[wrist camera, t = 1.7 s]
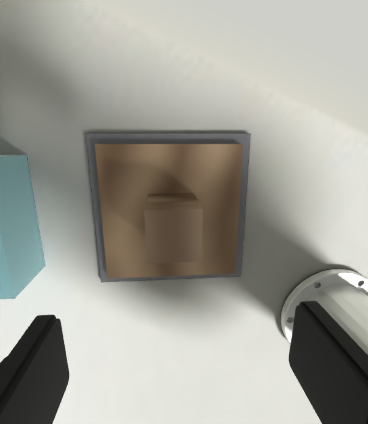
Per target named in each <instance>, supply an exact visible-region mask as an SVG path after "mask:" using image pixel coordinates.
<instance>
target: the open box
mask: <svg viewBox="0 0 368 424" xmlns="http://www.w3.org/2000/svg"><path fill="white" fill-rule="evenodd" d="M44 266H45V261H44V255H43V250H42V244H41V238H40V232H39V226H38V220H37V214H36V208H35V202H34V196H33V190H32V184H31V179H30V173H29V167H28V161H27V155H0V299H13V298H16V297H17V296H18V294H19V293H20V292H21V291H22V290H23V289H24V288H25V287H26V286H27V285H28V284H29V283H30V281H31V280H32V279H33V278H34V277H35V276H36V275H37V274H38V273H39V272H40V271H41V270H42V269H43V267H44Z"/></svg>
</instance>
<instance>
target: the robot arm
mask: <svg viewBox="0 0 368 424" xmlns="http://www.w3.org/2000/svg"><path fill="white" fill-rule="evenodd" d="M281 327H282V331H283V333H284V335H285V337H286V339H287V340H288V342H289V343H290V344H291V345H290V352H289V363H290V367H291V369H292V370H293V372H294V374H295V376H296V378H297V379H298V381H299V383H300V385H301V387H302V388H303V390H304V392H305V394H306V396H307V397H308V399H309V401H310V403H311V405H312V406H313V408H314V410H315V412H316V413H317V415H318V417H319V419H320V421H321V422H322V424H368V279H366V278H365V277H363V276H362V275H360V274H359V273H356V272H354V271H351V270H345V269H331V270H326V271H322V272H319V273H317V274H314V275H312V276H310V277H309V278H307V279H305V280H304V281H303V282H301V283H300V284H299V285H298V286H297V287H296V288H295V289H294V290H293V291H292V292H291V293H290V295H289V296H288V298H287V300H286V301H285V304H284V306H283V309H282V313H281ZM68 381H69V369H68V363H67V357H66V351H65V345H64V339H63V333H62V327H61V322H60V319H56V317H55V315H39V316H37V317H36V318H35V319H34V320H33V322H32V323H31V324H30V326H29V327H28V329H27V330H26V331H25V333H24V334H23V336H22V337H21V339H20V340H19V341H18V343H17V344H16V346H15V347H14V348H13V350H12V351H11V353H10V354H9V355H8V356H7V357H6V358H4V359H3V360H2V362H1V363H0V424H52V423H53V421H54V418H55V416H56V413H57V410H58V408H59V405H60V403H61V400H62V398H63V395H64V392H65V390H66V387H67V385H68Z"/></svg>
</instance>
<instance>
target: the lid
mask: <svg viewBox="0 0 368 424" xmlns="http://www.w3.org/2000/svg"><path fill="white" fill-rule="evenodd" d="M95 152H96V163H97V173H98V184H99V194H100V205H101V216H102V226H103V237H104V247H105V258H106V269H107V279H112V278H137V277H161V276H186V275H210V274H235V264H236V249H237V233H238V217H239V202H240V186H241V170H242V155H243V144H95Z"/></svg>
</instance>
